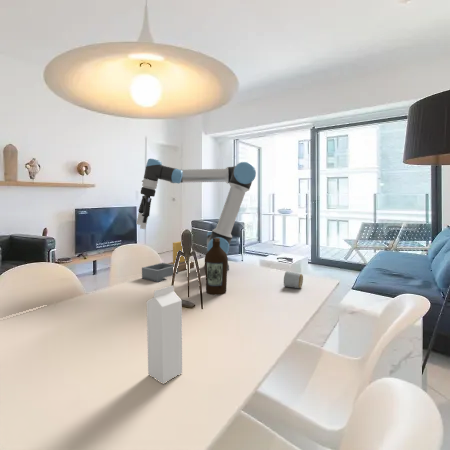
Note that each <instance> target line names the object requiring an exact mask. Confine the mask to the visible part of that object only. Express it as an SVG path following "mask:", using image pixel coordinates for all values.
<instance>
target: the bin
mask: <svg viewBox="0 0 450 450" xmlns="http://www.w3.org/2000/svg"><path fill="white" fill-rule="evenodd" d="M167 263H168V262H166V263H165V262H160V263H155V264H152V265H148V266H143V267H141V279H143V280H146V281H150V282H156V283H161V282H163V281H167V280H168V278H169V277H171V276H174V275H173V267H174V265H173V264H167ZM178 274H179V272H178V268H177V272H176V274H175V275H178Z"/></svg>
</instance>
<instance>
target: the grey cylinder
mask: <svg viewBox="0 0 450 450" xmlns="http://www.w3.org/2000/svg"><path fill="white" fill-rule="evenodd" d="M303 282H304V275H303V274H302V273H300V272H294V271H289V270H286V271H285V273H284V276H283V286H284V287H286V288H294V289H301V288H302V286H303V284H304V283H303Z"/></svg>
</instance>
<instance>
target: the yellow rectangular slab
mask: <svg viewBox="0 0 450 450" xmlns="http://www.w3.org/2000/svg"><path fill="white" fill-rule="evenodd" d="M181 241H182V240H181ZM181 241H180V240H179V241H173V242H172V262H173V264H174V263H175V260H176V256H177V252H178V251H179V250H181V251H182V246H181ZM181 262H185V259H184V257H183V256H181V257H180V261H179V263H181Z"/></svg>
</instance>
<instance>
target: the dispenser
mask: <svg viewBox="0 0 450 450" xmlns="http://www.w3.org/2000/svg"><path fill="white" fill-rule="evenodd" d="M166 263H167V264H173V261H171V262H166ZM173 265H174V264H173ZM191 269H195V262H194V261H191V263H190V269H189V270H191ZM184 271H187V269H186V263H185V262H181V263H179V266H178V273H182V272H184Z"/></svg>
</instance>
